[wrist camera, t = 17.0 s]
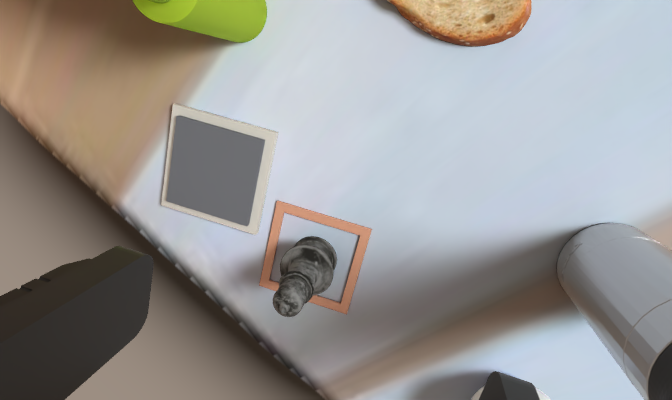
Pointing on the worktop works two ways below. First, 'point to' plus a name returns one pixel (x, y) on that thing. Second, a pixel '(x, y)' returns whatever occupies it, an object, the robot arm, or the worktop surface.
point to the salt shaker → (304, 274)
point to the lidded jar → (543, 397)
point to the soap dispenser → (209, 16)
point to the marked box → (322, 219)
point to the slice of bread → (467, 19)
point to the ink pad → (217, 168)
